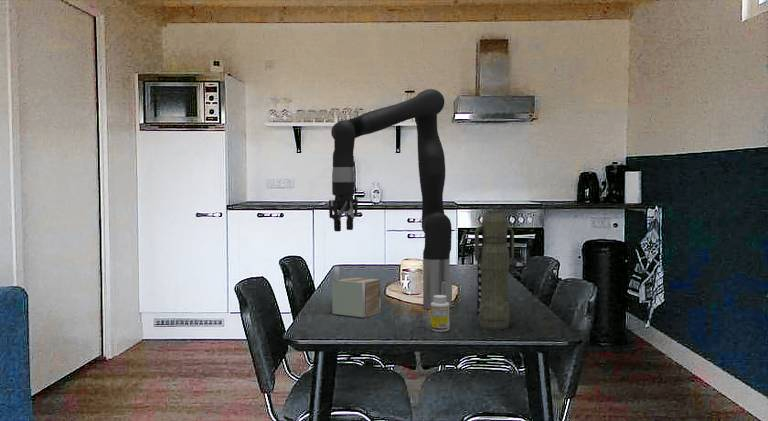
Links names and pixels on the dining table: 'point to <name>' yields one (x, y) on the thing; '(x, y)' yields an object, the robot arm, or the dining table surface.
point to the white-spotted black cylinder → (478, 287)
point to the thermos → (494, 269)
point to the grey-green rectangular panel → (347, 296)
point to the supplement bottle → (440, 314)
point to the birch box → (370, 294)
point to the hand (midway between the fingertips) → (343, 230)
